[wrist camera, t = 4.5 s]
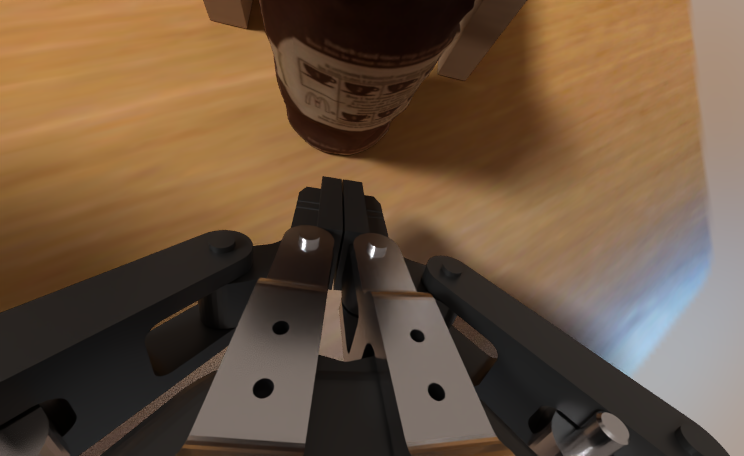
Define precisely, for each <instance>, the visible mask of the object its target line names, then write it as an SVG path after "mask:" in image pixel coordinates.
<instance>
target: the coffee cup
mask: <svg viewBox="0 0 744 456" xmlns="http://www.w3.org/2000/svg"><path fill="white" fill-rule="evenodd" d="M259 3H260V8H261V14H262V17H263V23H264V27H265V32H266V35H267V37H268V39H269V41H270V44H271V48H272V51H273V54H274V62H275V71H276V77H277V82H278V85H279V88H280V91H281V95H282V97H283V99H284V102H285V104H286V108H287V116H288V120H289V122H290V124H291V126H292V127H293V129H294V130H295V131H296V132H297V133H298V134H299V135H300V136H301V137H302V138H303V139H304V140H305V141H306V142H307V143H308V144H310V145H311V146H313V147H315V148H316V149H319V150H321V151H324V152H329V153H335V154H344V155H350V154H355V153H358V152H361V151H364V150H366V149H368V148H370V147H371V146H373V145H375V144H376V143H377V142H378V141H379V140H380V139H381V137H382V136H384V135H385V134H386V133H387V131H388V130H389V125H390V122H391V120H393V119H394V118H395V117H396V116H398V115H399V114H400V113H401V112H402V111H404V110H405V109H406V107H407V106H408V105H409V103H410V101H411V99H412V96H413V95H414V93H415V92H416V90H417V89H418V87H419V86H420V84H421V83H422V81H423V80H424V79H425V78H426V77H428V76H429V73H430V72H431V70H432V69H433V68H434V66H435V64H436V63H437V61H438V60H439V58H440V57H441V55H442V54H443V52H444V51H445V50H446V49H447V48H448V47H449V46H450V45H451V43H452V42H453V41H454V40H455V39H457V37H458V36H459V34H460V21H461V20H462V19H463V18H464V17H465V15H466V14H467V13H468V12H469V11H471V10H472V9H473V7H474V3H475V0H259Z"/></svg>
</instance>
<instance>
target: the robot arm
mask: <svg viewBox="0 0 744 456" xmlns="http://www.w3.org/2000/svg"><path fill="white" fill-rule="evenodd" d="M333 279H334V290H342V298H341V302H340V307H339V316H340V327H341V337H342V347H343V357H344V362H343V361H339V360H335V359H332V358H328V357H325V356H321V355H318V353H319V346H320V340H321V333H322V326H323V319H324V312H325V305H326V299H327V292H328V289H329V290H332V285H333ZM196 301H198V304H197V305H195V306H193V307H192V308H190V309H188V310H186V311H185V312H183V313H181V314H179V315H178V316H176V317H174V318H172V319H171V320H169V321H167V322H165V323H163V324H162V325H160V326H158V327H156V328H155V329H153V330H151V329H152V328H153V327H154V326H155V325H156V324H157V323H159V322H160V321H162V320H164V319H165V318H167V317H169V316H171V315H173V314H174V313H176V312H178V311H180V310H182V309H183V308H185V307H187V306H189V305H191V304H192V303H194V302H196ZM457 315H458V316H459V317H461V318H462V319H463V320H464V321H466V322H467V323H468V324H469V325H470V326H472V327H473V328H474V329H475V330H477V331H478V332H479V333H480V334H482V335H483V336H484V337H485V338H487V339H488V340H489V341H490V342H491V343H492V344H493V345H494V346H495V348H496V350H497V353H498V358H492V357H490V356H488V355H487V354H485V353H484V352H483V351H482V350H481V349H480V348H478V347H477V346H476V345H475V344H474V343H472V342H471V341H470V340H469V339H468V338H466V337H465V336H464V335H463V334H462V333H460V332H459V331H458V330H457V329H456V328H454V327H453V326H452V324H453V322H454V320H455V318H456V317H457ZM150 330H151V331H150ZM228 345H229V346H228ZM227 346H228V348H227V351H226V353H225V355H224V357H223V360H222V362H221V364H220V366H219V369H218V370H216V371H214V372H211V373H209V374H208V375H206V376H204V377H202V378H200V379H198V380H196V381H195V382H193V383H192V384H190V385H189V386H187V387H186V388H184V389H183V390H182V391H180V392H179V393H178V394H176V395H175V396H174V397H173V398H171V399H170V400H169V401H168V402H166V403H165V404H164V405H163V406H161V407H160V408H159V409H158V410H156V411H155V412H154V413H153V414H151V415H150V416H149V417H148V418H146V419H145V420H144V421H143V422H141V423H140V424H139V425H138V426H136V427H135V428H134V429H133V430H131V431H130V432H129V433H128V434H126V435H125V436H124V437H123V438H121V439H120V440H119V441H118V442H116V443H115V444H114V445H113V446H111V447H110V448H109V449H108V450H106V451H105V452H104V453H103V454H101V455H100V456H730V455H729V454H728V453H727V452H726V450H725V449H724V448H723V447H722V446H721V445H720V444H719V443H718V442H717V441H716V440H715V439H714V438H713V437H712V436H711V435H710V434H709V433H708V432H707V431H706V430H704V429H703V428H702V427H701V426H699V425H698V424H697V423H695V422H694V421H692V420H691V419H689V418H688V417H687V416H685V415H684V414H682V413H681V412H679V411H678V410H676V409H675V408H674V407H672V406H671V405H669V404H668V403H666V402H665V401H663V400H662V399H660V398H659V397H657V396H656V395H654V394H653V393H652V392H650V391H649V390H647V389H646V388H644V387H643V386H641V385H640V384H638V383H637V382H636V381H634V380H633V379H631V378H630V377H628V376H627V375H625V374H624V373H623V372H621V371H620V370H618V369H617V368H615V367H614V366H612V365H611V364H609V363H608V362H606V361H605V360H604V359H602V358H601V357H599V356H598V355H596V354H595V353H593V352H592V351H590V350H589V349H588V348H586V347H585V346H583V345H582V344H580V343H579V342H577V341H576V340H574V339H573V338H571V337H570V336H569V335H567V334H566V333H564V332H563V331H561V330H560V329H558V328H557V327H555V326H554V325H553V324H551V323H550V322H548V321H547V320H545V319H544V318H542V317H541V316H539V315H538V314H536V313H535V312H534V311H532V310H531V309H529V308H528V307H526V306H525V305H523V304H522V303H520V302H519V301H518V300H516V299H515V298H513V297H512V296H510V295H509V294H507V293H506V292H504V291H503V290H501V289H500V288H499V287H497V286H496V285H494V284H493V283H491V282H490V281H488V280H487V279H485V278H484V277H483V276H481V275H480V274H478V273H477V272H475V271H474V270H472V269H471V268H469V267H468V266H466V265H465V264H464V263H462V262H460V261H458V260H457V259H454V258H451V257H448V256H434V257H432V258H430V259H429V260H428V262H427V265H423V264H420V263H417V262H414V261H411V260H408V259H406V258H404V257H403V256H402V253H401V251H400V248H399V246H398V245H397V244H396V243H395V242H394V241H393V240H392V239H390V238H389V237H388V233H387V229H386V225H385V221H384V217H383V213H382V208H381V204H380V203H379V202H378V201H377V200H376V199H375V198H374V197H373V196H366V195H364V192H363V185H362V182H356V181H350V180H344V179H343V181H342V179H337V178H331V177H324V176H323V177H322V184H321V189H319V188H312V187H306V188H304V189H303V190H302V191H301V192H299V196H298V201H297V205H296V209H295V213H294V217H293V221H292V226H291V228H290V229H289V230H287V231H286V232H285V234H284V236H283V239H282V240H281V241H279V242H276V243H273V244H268V245H259V246H253V244H252V241H251V240H250V238H249V237H247V236H246V235H244V234H242V233H240V232H236V231H230V230H219V231H212V232H208V233H205V234H203V235H200V236H198V237H195V238H192V239H190V240H187V241H185V242H182V243H180V244H177V245H174V246H172V247H169V248H167V249H164V250H161V251H159V252H156V253H154V254H151V255H149V256H146V257H143V258H141V259H138V260H136V261H133V262H130V263H128V264H125V265H123V266H120V267H118V268H115V269H112V270H110V271H107V272H105V273H102V274H100V275H97V276H94V277H92V278H89V279H87V280H84V281H81V282H79V283H76V284H74V285H71V286H69V287H66V288H63V289H61V290H58V291H56V292H53V293H51V294H48V295H45V296H43V297H40V298H38V299H35V300H32V301H30V302H27V303H25V304H22V305H20V306H17V307H14V308H12V309H9V310H7V311H4V312H2V313H0V456H79V455H80V454H81V453H83V452H84V451H86V450H87V449H88V448H90V447H91V446H92V445H94V444H95V443H96V442H98V441H99V440H101V439H102V438H103V437H105V436H106V435H107V434H109V433H110V432H111V431H113V430H114V429H115V428H117V427H118V426H120V425H121V424H122V423H124V422H125V421H126V420H128V419H129V418H130V417H132V416H133V415H135V414H136V413H137V412H139V411H140V410H141V409H143V408H144V407H145V406H147V405H148V404H149V403H151V402H152V401H154V400H155V399H156V398H158V397H159V396H160V395H162V394H163V393H164V392H166V391H167V390H169V389H170V388H171V387H173V386H174V385H175V384H177V383H178V382H179V381H181V380H182V379H183V378H185V377H186V376H188V375H189V374H190V373H192V372H193V371H194V370H196V369H197V368H198V367H200V366H201V365H203V364H204V363H205V362H207V361H208V360H209V359H211V358H212V357H213V356H215V355H216V354H217V353H219V352H220V351H222V350H223V349H224V348H226V347H227Z"/></svg>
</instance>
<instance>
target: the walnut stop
mask: <svg viewBox="0 0 744 456" xmlns="http://www.w3.org/2000/svg"><path fill="white" fill-rule="evenodd" d="M203 1H204V4H205V7H206V10H207V13H208V15H209V18H210V20H212V21H216V22H221V23H225V24H229V25H233V26H237V27H242V28H246V29H247V26H248V21H249V16H250V11H251V6H252V2H253V0H203ZM526 1H527V0H475V3H474V7H473V9H472V10H471V11H469V12H468V13H467V14H466V15H465V17H464V18H463V19H462V20H461V21H460V34H459V36H458V37H457V39H455V40H454V41H453V42H452V43H451V45H450V46H449V47H448V48H447V49H446V50H445V51H444V52H443V54H442V55H441V57H440V58H439V60H438V74H439V75H443V76H447V77H452V78H456V79H460V80H464V81H465V80H466V79H467V78H468V76H469V75H470V74H471V73H472V71H473V70H474V69H475V67H476V66H477V65H478V63H479V62H480V61H481V59H482V58H483V57H484V56H485V54H486V53H487V52H488V50H489V49H490V48H491V46H492V45H493V44H494V43H495V41H496V40H497V39H498V37H499V36H500V35H501V33H502V32H503V31H504V30H505V28H506V27H507V26H508V24H509V23H510V22H511V20H512V19H513V18H514V17H515V15H516V14H517V13H518V11H519V10H520V9H521V7H522V6H523V5H524V4H525V2H526Z"/></svg>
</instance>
